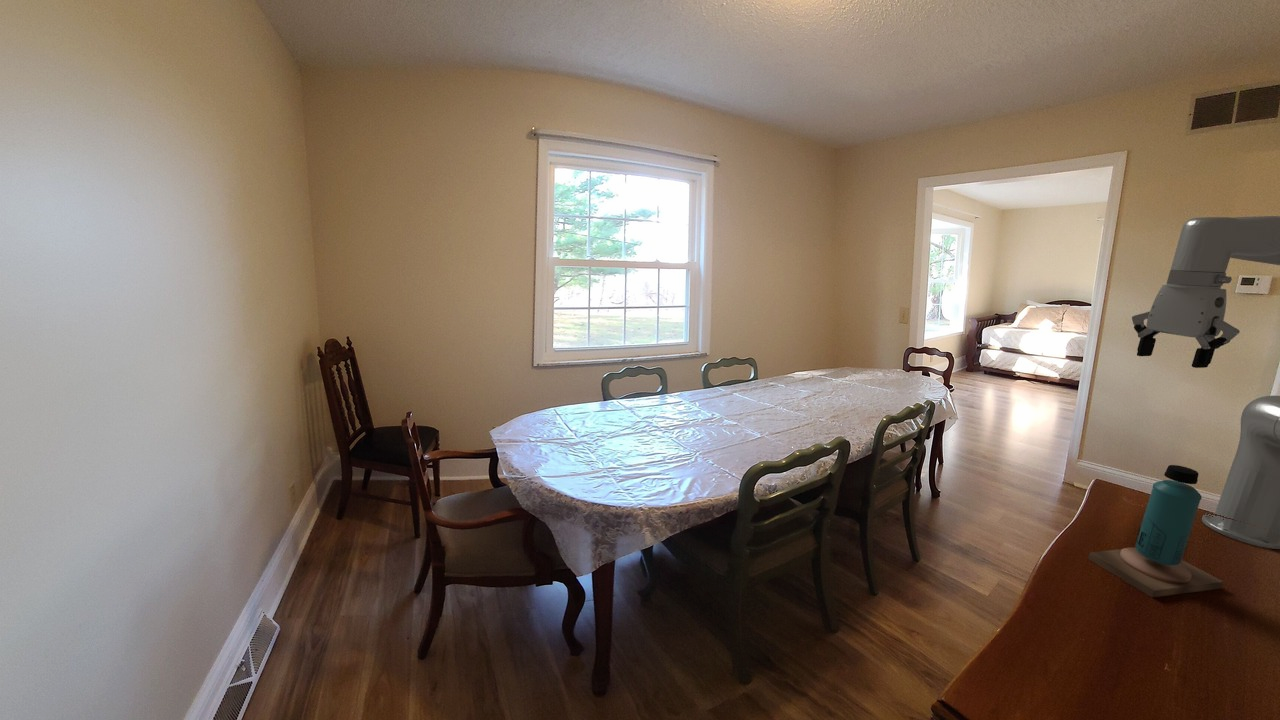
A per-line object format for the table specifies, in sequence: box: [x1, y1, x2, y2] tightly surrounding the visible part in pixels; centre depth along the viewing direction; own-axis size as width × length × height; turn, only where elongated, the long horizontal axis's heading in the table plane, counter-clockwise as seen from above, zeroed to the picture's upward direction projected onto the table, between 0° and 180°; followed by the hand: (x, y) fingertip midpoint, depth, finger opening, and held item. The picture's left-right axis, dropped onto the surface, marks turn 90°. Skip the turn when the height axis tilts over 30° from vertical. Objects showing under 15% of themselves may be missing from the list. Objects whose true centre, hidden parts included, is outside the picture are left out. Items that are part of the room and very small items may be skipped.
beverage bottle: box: [1134, 464, 1203, 565], centre depth 92 cm, size 6×7×20 cm
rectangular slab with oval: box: [1087, 547, 1224, 598], centre depth 94 cm, size 16×11×2 cm
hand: (1170, 361), depth 103 cm, fingers open, 9 cm apart
